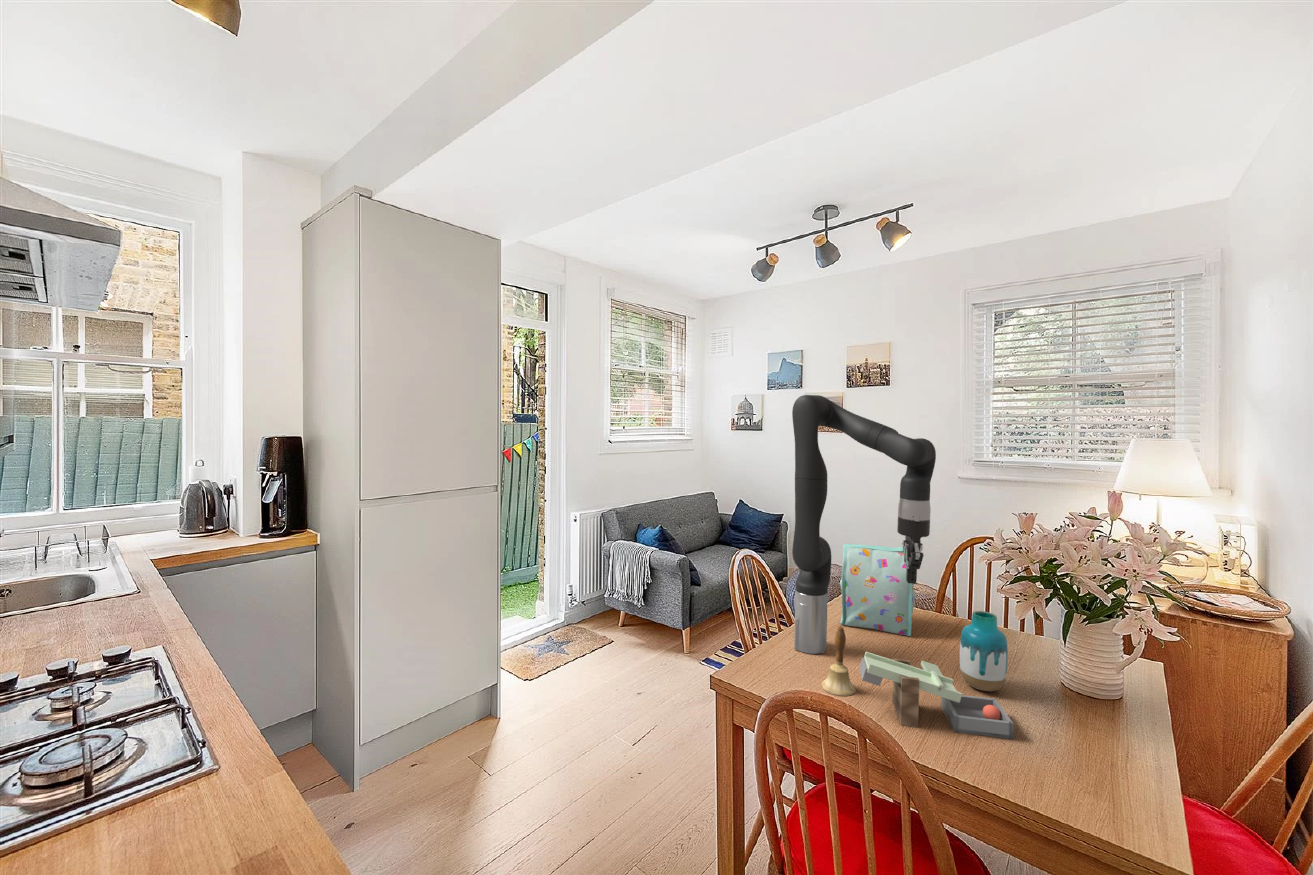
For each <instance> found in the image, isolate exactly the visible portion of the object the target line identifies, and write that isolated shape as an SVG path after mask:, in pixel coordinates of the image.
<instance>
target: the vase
mask: <svg viewBox="0 0 1313 875" xmlns="http://www.w3.org/2000/svg"><path fill="white" fill-rule="evenodd" d="M998 627H999V626H998V617H997V615H996V614H994V613H992V612H989V611H984V610H975V611H973V612H972V615H971V622H970V623H969V624H967V625H965V626H964V627H963V628H962V631H961V635H960V640H959V671H960V675H961V677H962V679H963V681H964V682H965V683H966V684H967V685H969V686H970V687H972V688H974V689H976V690H979V691H984V692H996V691H998V690H1000V689H1002V688H1003V687H1004V685H1005V683H1006V679H1007V673H1008V663H1009V662H1008V658H1009V657H1008V656H1009V652H1008V651H1009V650H1008V640H1007V636H1006V635H1005V633H1004V632H1003V631H1002V630H1000V629H999V628H998Z"/></svg>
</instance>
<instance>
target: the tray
mask: <svg viewBox="0 0 1313 875" xmlns="http://www.w3.org/2000/svg"><path fill="white" fill-rule="evenodd" d="M940 698H941V703H940V707H941V709H942V711H943V713H944V715H945V718H946V719H947V720H948V723H949V725H950V727H951V729H952V731H953V732H954V733H959V734H965V735H966V734H968V735H975V736H981V737H982V736H983V737H991V738H999V739H1006V740H1014V727H1015V726H1014V724H1015V723H1014V722H1013V721H1012V719H1011V718H1010V717H1009V715H1008V714H1007V713H1006V711H1005V709H1004V708H1003V707H1002V706H1001V704H1000V702H998V700H997V699H996V698H993V697H992V698H991V697H982V696H973V695H963V694H962V696H961V700H960V703H958V702H955V701H952V700H949V699H946V698H943V697H940ZM986 705H993V706H995V707H996V708H998V710H999V711H1000V714H1001V716H1000V719H999V720H993V719H986V718H985V717H984V715H983V708H984V707H985V706H986Z"/></svg>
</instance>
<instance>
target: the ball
mask: <svg viewBox="0 0 1313 875" xmlns="http://www.w3.org/2000/svg"><path fill="white" fill-rule="evenodd" d="M983 715H984V717H985V718H986V719H993V720H999V719H1000V716H1001V714H1000V711H999V710H998V708H996V707H995V706H993V705H986V706H985V707H984V708H983Z"/></svg>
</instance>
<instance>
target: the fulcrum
mask: <svg viewBox="0 0 1313 875" xmlns="http://www.w3.org/2000/svg"><path fill="white" fill-rule="evenodd" d="M892 660H894V661H897V662H901V663H904V664H907V665H910V666H911V660H910V659H903V658H902V659H901V658H893V659H892ZM891 701H892V704H893V708H894V710H895V713H896V715H897V718H898V721H899V724H900V725H901V726H905V727H914V728H919V712H920V711H919V709H920V708H919V707H920V706H919V704H920V690H919V678H914V677H904V676H901V683H898V682H894V681H892V698H891Z"/></svg>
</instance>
